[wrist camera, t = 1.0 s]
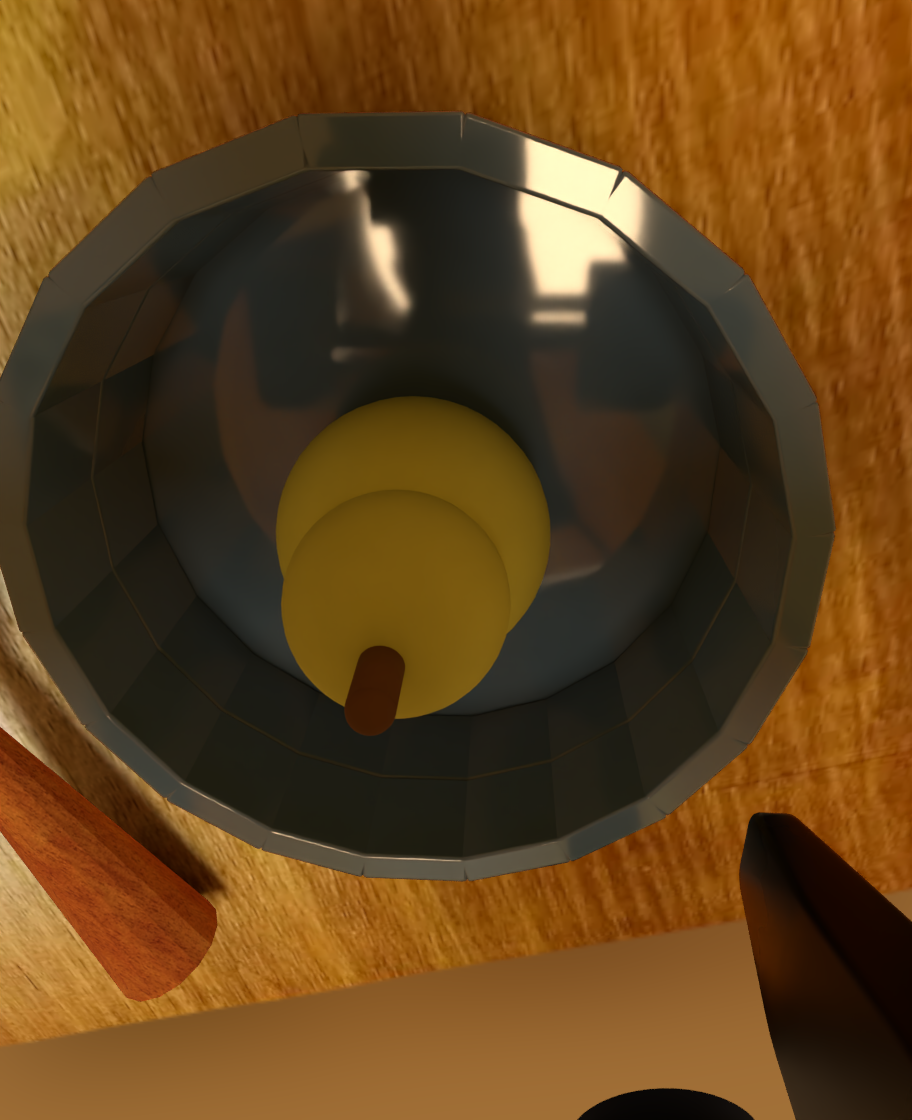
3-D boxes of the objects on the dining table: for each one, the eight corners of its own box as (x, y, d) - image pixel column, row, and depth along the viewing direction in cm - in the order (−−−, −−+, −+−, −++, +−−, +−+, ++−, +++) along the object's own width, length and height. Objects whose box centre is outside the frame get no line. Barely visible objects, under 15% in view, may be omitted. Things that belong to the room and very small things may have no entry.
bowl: (698, 728, 21) (755, 895, 16) (182, 713, 22) (89, 868, 17) (794, 126, 15) (934, 103, 10) (64, 136, 16) (-136, 119, 11)
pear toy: (540, 590, 19) (563, 881, 11) (321, 586, 19) (195, 867, 12) (549, 368, 17) (589, 541, 9) (299, 367, 17) (123, 533, 9)
